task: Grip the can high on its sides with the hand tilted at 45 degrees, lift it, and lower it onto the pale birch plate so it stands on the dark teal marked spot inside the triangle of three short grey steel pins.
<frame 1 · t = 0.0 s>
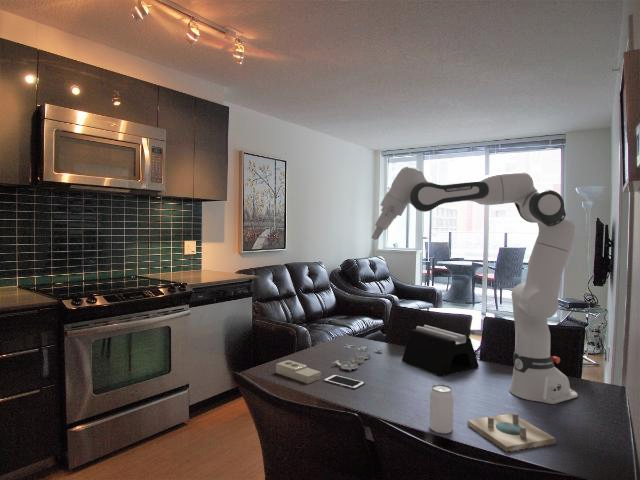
hand: (374, 238, 158), 54 cm above the table, tool tilted 30°, fingers open, 8 cm apart
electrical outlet: (297, 377, 165), on the table
can: (441, 429, 121), on the table
cell phone: (343, 383, 158), on the table
drone parts: (348, 358, 190), on the table
pin plate: (509, 433, 119), on the table
device stand: (439, 365, 181), on the table
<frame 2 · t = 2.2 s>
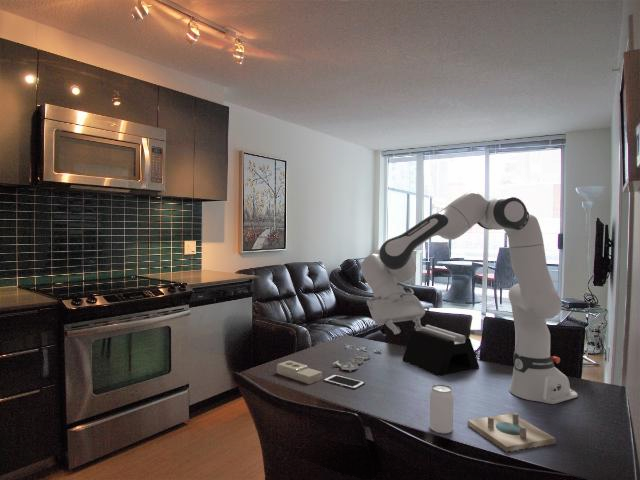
hand: (409, 331, 132), 26 cm above the table, tool tilted 45°, fingers open, 8 cm apart
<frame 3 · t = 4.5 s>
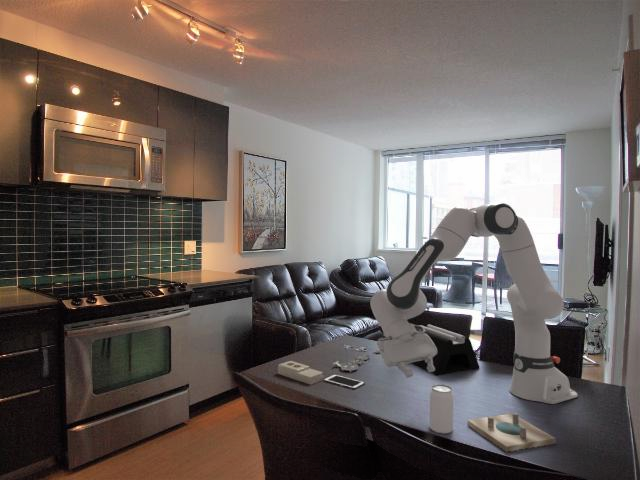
hand: (421, 373, 128), 14 cm above the table, tool tilted 45°, fingers open, 8 cm apart
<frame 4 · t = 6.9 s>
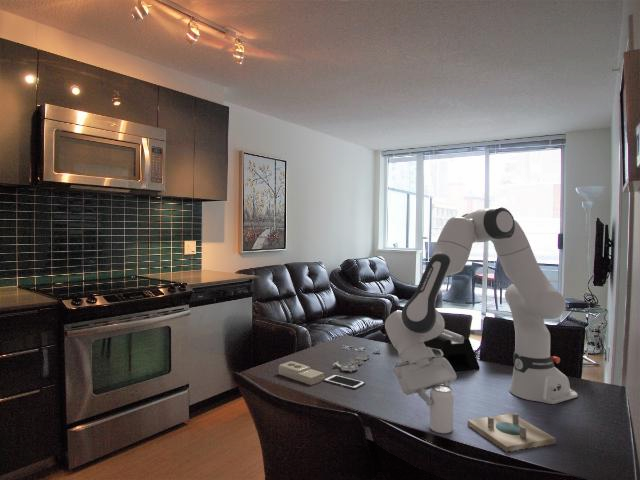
hand: (441, 401, 121), 8 cm above the table, tool tilted 45°, fingers closed on can, 6 cm apart
can: (441, 429, 121), on the table, touching gripper
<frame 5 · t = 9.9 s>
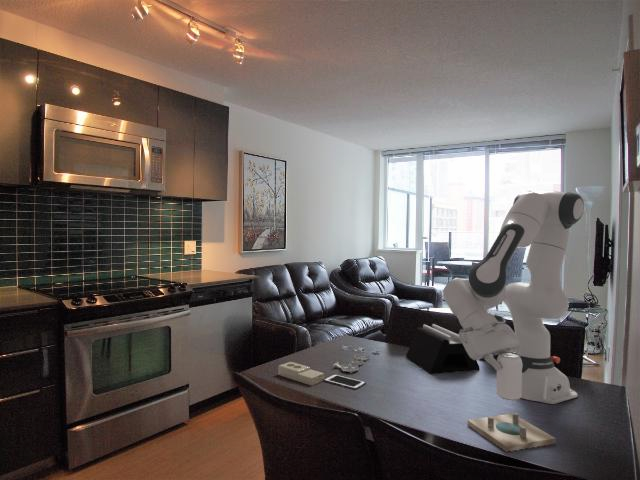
hand: (508, 366, 119), 19 cm above the table, tool tilted 45°, fingers closed on can, 6 cm apart
can: (508, 396, 119), point 10 cm above the table, touching gripper
when the fingers open (11 cm above the table, at t = 13.2 s): can stays where it is, resting on pin plate.
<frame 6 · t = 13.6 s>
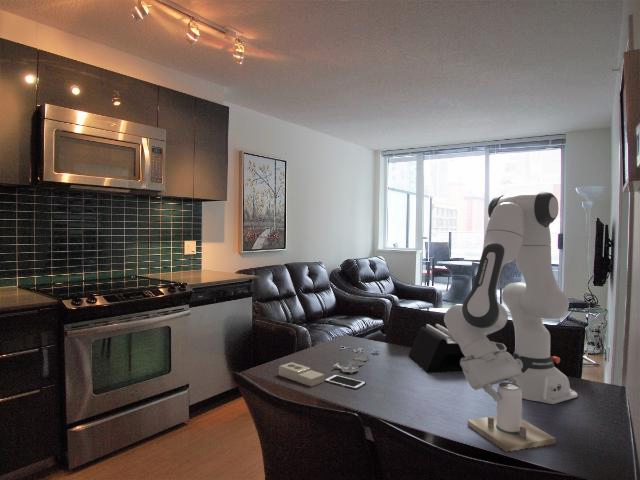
hand: (509, 396, 119), 11 cm above the table, tool tilted 45°, fingers open, 8 cm apart
can: (508, 428, 119), point 2 cm above the table, touching pin plate
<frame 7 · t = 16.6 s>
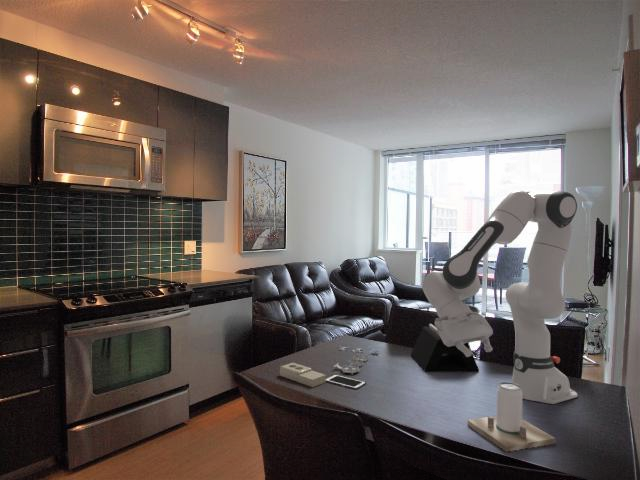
hand: (480, 353, 127), 20 cm above the table, tool tilted 45°, fingers open, 8 cm apart
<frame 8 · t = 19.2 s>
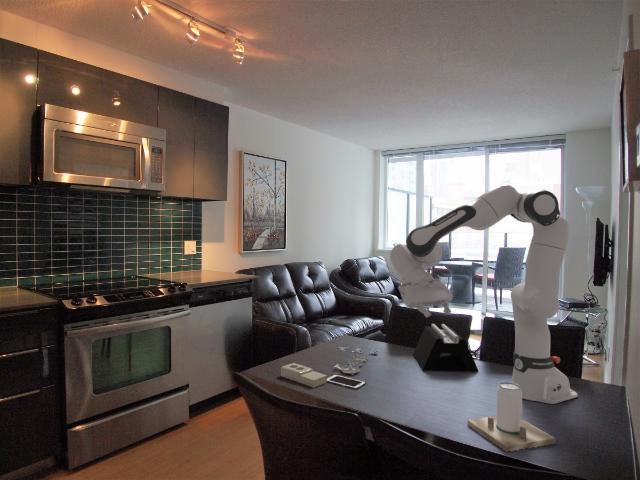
hand: (439, 314, 140), 29 cm above the table, tool tilted 45°, fingers open, 8 cm apart
at the end: can 0.1 cm off-centre on the pin plate, point 1.5 cm above the pin plate's base; can tilted 0°; the gripper is holding nothing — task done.
